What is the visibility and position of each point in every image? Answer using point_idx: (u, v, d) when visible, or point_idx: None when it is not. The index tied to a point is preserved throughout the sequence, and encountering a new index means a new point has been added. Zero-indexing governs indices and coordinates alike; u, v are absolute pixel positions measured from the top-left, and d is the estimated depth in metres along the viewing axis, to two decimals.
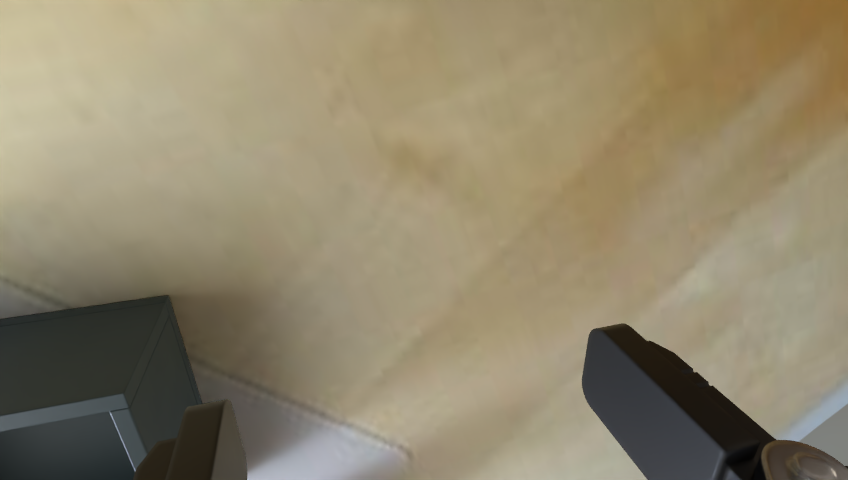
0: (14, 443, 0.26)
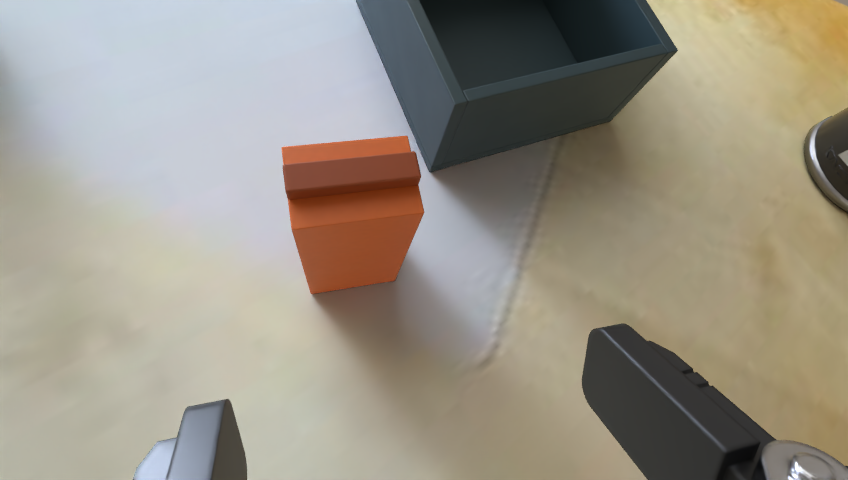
0: (478, 34, 0.36)
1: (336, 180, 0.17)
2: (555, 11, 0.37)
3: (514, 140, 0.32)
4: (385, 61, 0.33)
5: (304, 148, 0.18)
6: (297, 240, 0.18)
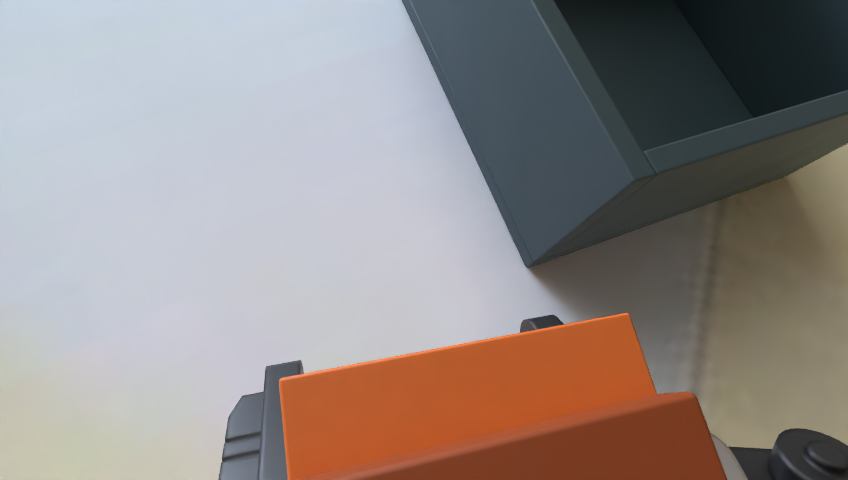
0: (585, 43, 0.23)
1: None
2: (695, 10, 0.25)
3: (663, 214, 0.20)
4: (449, 85, 0.21)
5: (349, 379, 0.06)
6: None
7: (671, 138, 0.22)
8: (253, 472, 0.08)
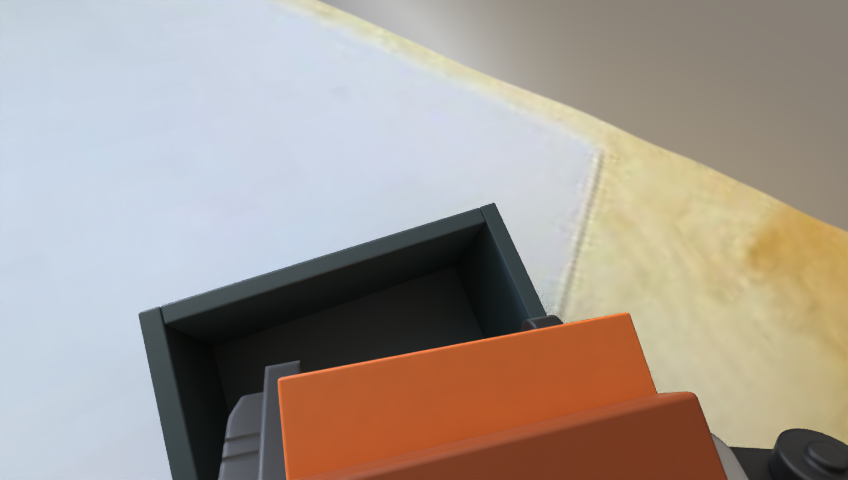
0: None
1: None
2: None
3: None
4: None
5: (348, 378, 0.06)
6: None
7: None
8: (252, 472, 0.08)
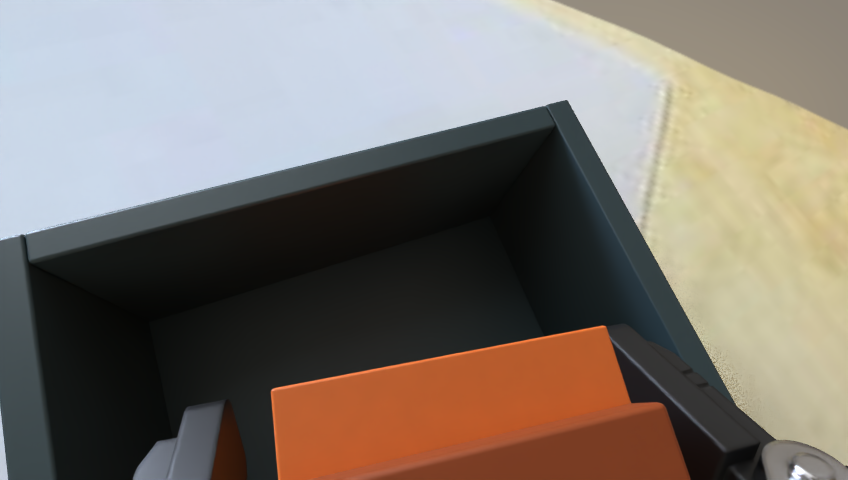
0: None
1: None
2: (543, 318, 0.18)
3: None
4: None
5: (337, 389, 0.06)
6: None
7: None
8: None
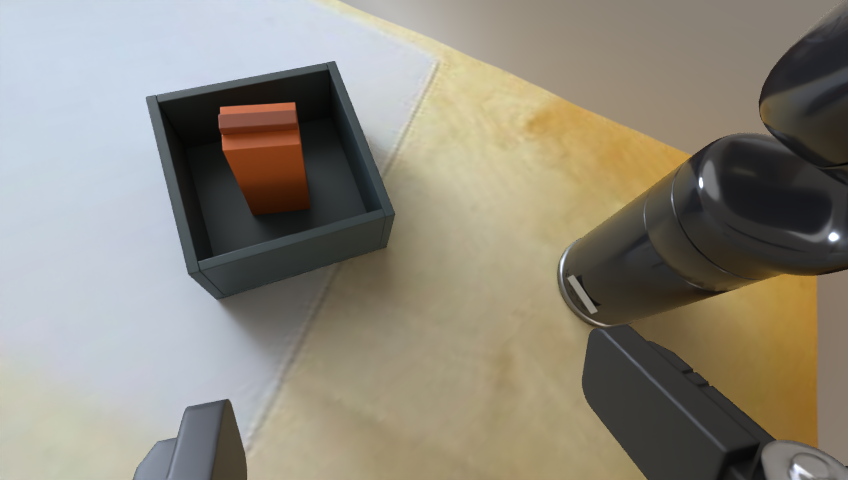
0: None
1: (247, 123, 0.32)
2: (346, 154, 0.45)
3: (287, 273, 0.40)
4: None
5: (233, 108, 0.33)
6: (228, 159, 0.33)
7: None
8: None
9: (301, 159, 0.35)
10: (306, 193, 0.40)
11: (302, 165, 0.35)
